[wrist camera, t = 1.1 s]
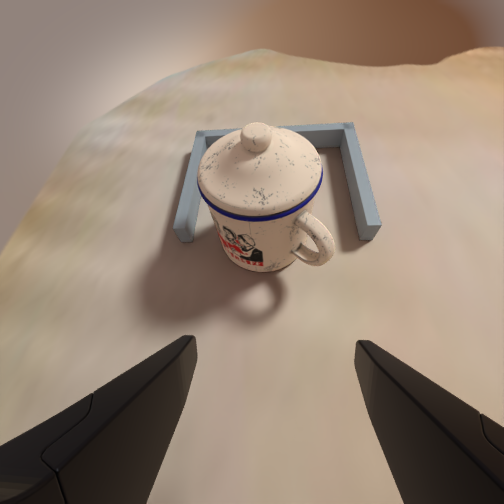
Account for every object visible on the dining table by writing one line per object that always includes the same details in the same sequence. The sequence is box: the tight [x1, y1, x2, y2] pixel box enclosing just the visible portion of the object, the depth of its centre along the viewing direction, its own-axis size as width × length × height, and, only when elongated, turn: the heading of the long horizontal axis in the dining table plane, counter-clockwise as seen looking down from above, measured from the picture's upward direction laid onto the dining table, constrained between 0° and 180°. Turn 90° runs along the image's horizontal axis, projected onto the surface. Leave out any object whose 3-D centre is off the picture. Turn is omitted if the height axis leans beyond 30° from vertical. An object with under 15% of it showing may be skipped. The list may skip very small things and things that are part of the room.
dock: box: [173, 122, 382, 242], centre depth 27 cm, size 15×19×2 cm
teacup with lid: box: [197, 122, 335, 272], centre depth 19 cm, size 12×9×12 cm
